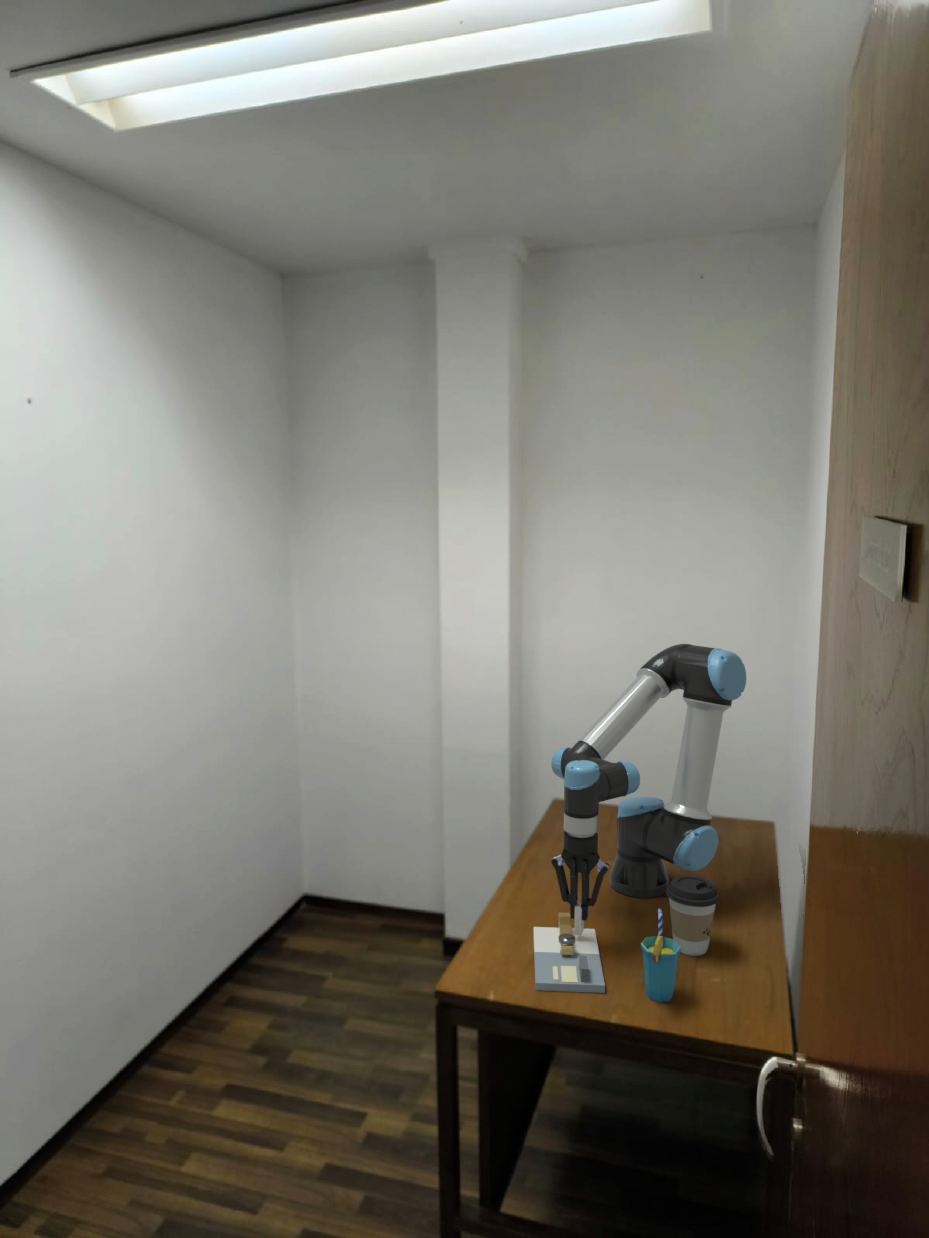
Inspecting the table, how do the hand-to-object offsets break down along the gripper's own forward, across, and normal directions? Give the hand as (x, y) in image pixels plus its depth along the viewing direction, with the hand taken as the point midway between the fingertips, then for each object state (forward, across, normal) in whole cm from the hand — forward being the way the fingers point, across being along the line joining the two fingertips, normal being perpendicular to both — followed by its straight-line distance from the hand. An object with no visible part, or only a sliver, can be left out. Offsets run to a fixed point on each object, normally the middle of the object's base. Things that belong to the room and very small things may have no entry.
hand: (578, 932), depth 182 cm
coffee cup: (+3, -24, -8) cm, 25 cm away
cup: (+3, -19, +12) cm, 23 cm away
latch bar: (+1, +2, +3) cm, 4 cm away
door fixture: (+3, +1, +7) cm, 8 cm away
